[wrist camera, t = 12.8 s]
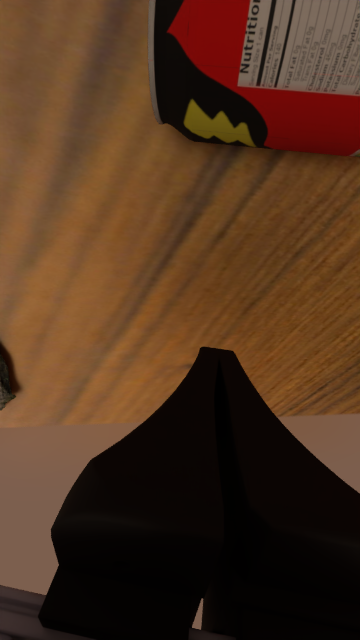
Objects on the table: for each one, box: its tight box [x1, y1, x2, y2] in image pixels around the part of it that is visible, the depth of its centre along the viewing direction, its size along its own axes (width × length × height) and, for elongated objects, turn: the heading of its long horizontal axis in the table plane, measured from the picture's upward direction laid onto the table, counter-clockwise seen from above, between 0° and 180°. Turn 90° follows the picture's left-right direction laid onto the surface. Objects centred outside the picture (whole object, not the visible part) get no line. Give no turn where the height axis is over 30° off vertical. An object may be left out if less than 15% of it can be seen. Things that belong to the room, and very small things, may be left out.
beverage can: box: [148, 0, 360, 157], centre depth 12 cm, size 6×6×12 cm
